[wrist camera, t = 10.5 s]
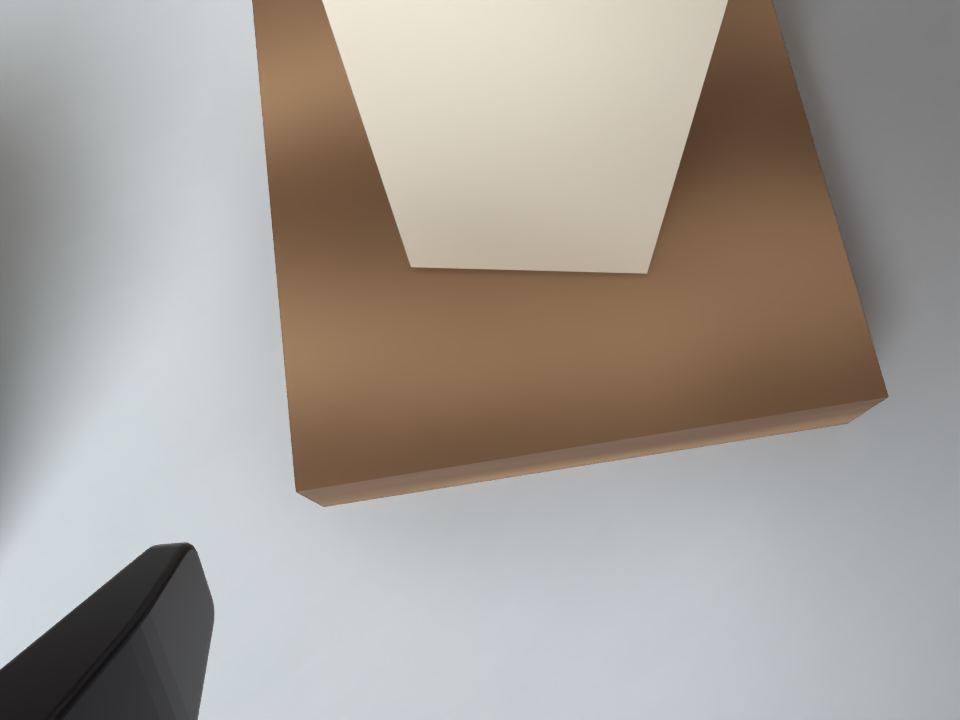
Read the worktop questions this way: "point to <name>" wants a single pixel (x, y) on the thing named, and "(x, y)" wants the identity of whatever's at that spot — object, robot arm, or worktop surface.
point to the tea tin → (527, 123)
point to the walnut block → (554, 295)
